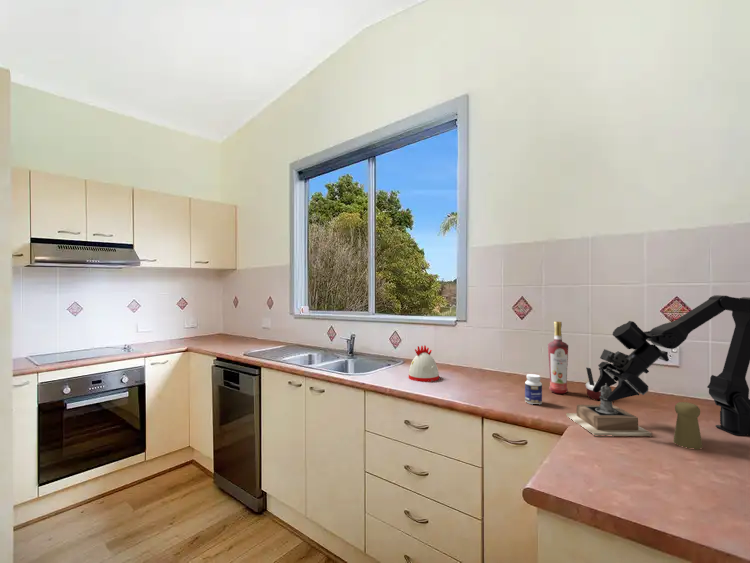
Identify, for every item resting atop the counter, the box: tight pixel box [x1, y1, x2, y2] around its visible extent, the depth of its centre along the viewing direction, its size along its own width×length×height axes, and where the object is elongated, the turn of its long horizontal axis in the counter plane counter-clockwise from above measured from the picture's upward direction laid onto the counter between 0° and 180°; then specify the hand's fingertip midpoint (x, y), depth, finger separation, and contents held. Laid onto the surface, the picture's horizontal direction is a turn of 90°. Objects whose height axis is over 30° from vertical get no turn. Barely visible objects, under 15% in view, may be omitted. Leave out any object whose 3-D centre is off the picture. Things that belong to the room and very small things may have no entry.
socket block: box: [565, 404, 652, 438], centre depth 113 cm, size 16×16×4 cm
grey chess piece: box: [595, 383, 618, 415], centre depth 113 cm, size 6×6×12 cm
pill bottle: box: [524, 373, 543, 405], centre depth 135 cm, size 6×6×10 cm
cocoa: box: [585, 367, 601, 401], centre depth 140 cm, size 10×6×12 cm, turn 98°
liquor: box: [547, 321, 569, 395], centre depth 148 cm, size 7×7×28 cm
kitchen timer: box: [408, 344, 440, 383], centre depth 172 cm, size 14×14×15 cm
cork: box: [672, 401, 704, 450], centre depth 100 cm, size 6×6×11 cm
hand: (600, 395), depth 113 cm, fingers open, 9 cm apart
